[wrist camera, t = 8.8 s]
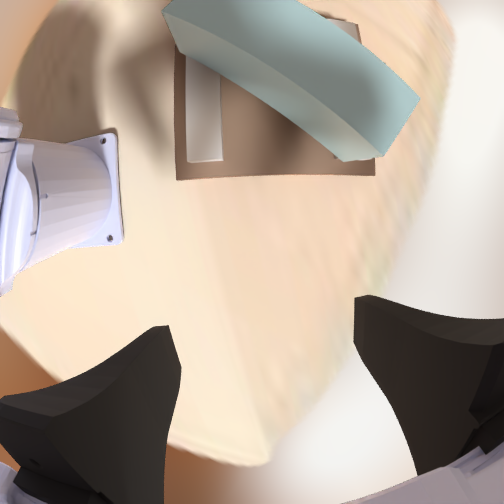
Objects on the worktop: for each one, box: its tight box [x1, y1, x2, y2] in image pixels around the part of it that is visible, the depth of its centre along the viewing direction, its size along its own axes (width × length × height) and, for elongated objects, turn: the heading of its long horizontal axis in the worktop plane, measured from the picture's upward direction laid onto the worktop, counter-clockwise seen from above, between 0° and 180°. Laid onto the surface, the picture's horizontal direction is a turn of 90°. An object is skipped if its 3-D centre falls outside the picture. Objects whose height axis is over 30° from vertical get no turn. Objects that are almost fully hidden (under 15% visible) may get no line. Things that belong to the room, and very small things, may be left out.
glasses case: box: [161, 0, 420, 162], centre depth 12 cm, size 12×4×5 cm, turn 54°
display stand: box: [174, 18, 375, 180], centre depth 16 cm, size 13×12×3 cm
